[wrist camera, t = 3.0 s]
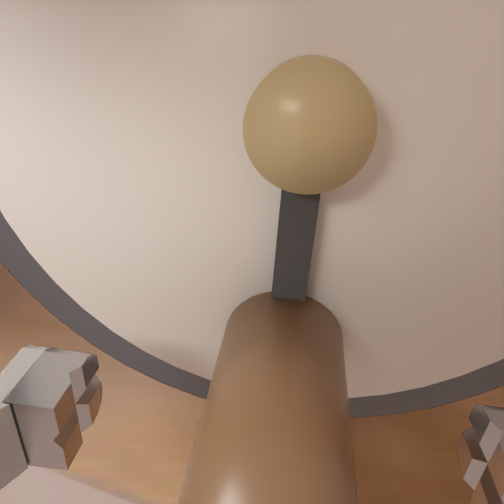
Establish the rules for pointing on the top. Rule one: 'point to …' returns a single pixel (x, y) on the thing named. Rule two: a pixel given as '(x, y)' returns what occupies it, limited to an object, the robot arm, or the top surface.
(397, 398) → the dial base
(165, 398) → the top surface
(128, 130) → the dial
